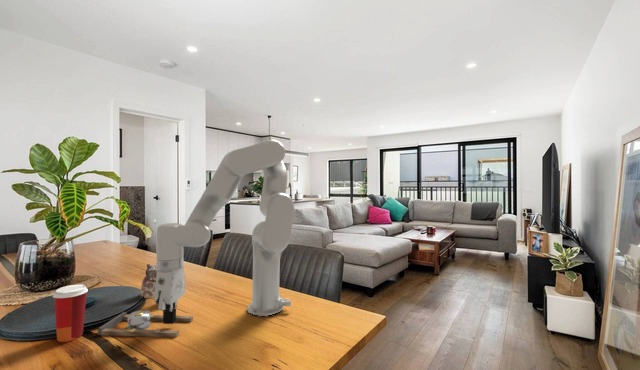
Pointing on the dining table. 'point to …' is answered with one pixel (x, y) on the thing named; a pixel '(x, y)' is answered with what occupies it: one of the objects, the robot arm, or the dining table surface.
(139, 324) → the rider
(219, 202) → the robot arm
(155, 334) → the beam track
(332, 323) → the dining table surface
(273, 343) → the dining table surface
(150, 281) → the figurine
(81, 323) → the paper cup
